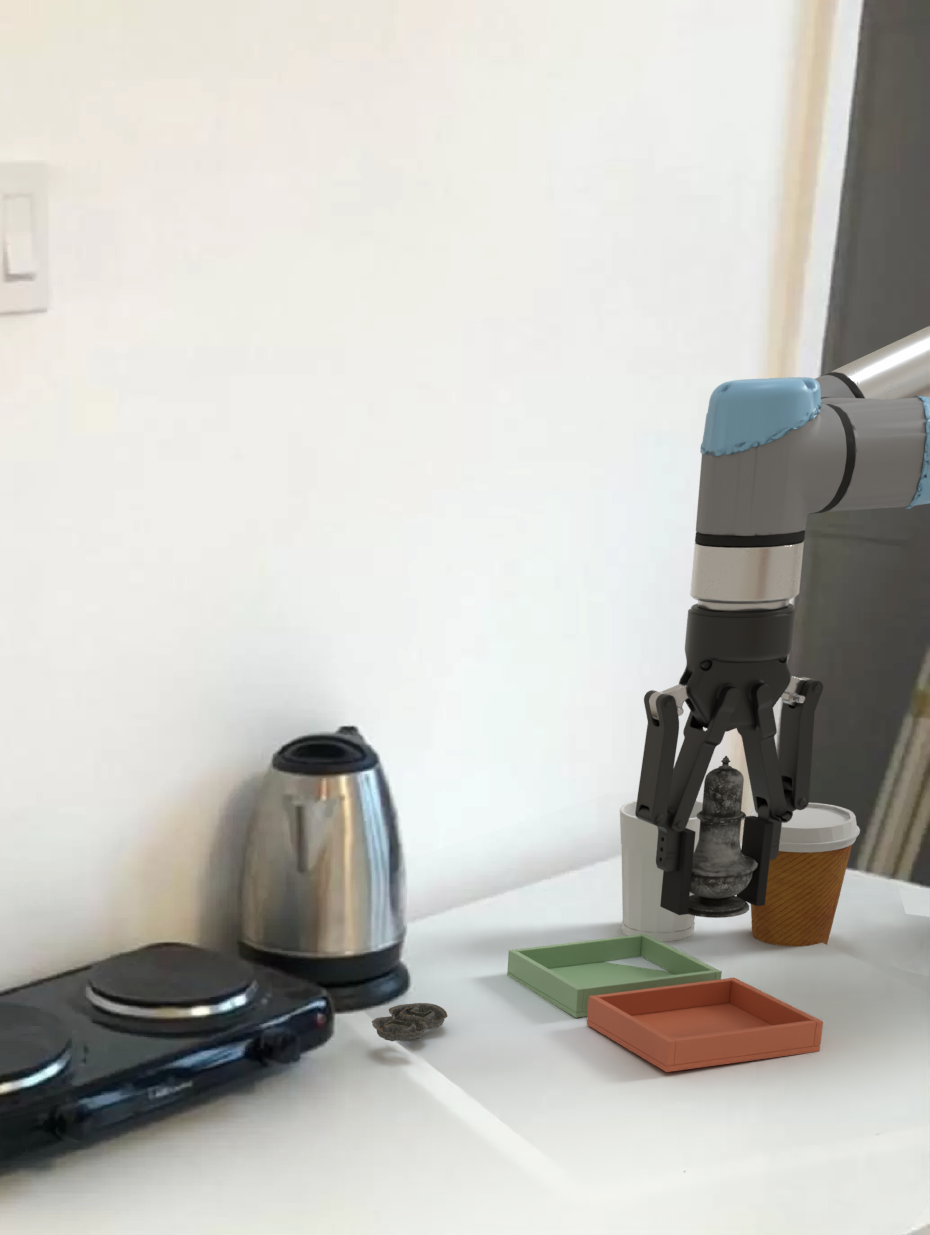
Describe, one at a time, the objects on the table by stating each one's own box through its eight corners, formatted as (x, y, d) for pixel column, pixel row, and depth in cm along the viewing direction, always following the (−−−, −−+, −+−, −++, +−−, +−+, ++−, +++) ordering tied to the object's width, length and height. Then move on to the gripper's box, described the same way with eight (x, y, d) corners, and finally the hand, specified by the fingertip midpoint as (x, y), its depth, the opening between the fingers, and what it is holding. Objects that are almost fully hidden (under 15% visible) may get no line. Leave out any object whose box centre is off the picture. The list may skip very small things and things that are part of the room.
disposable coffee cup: (850, 963, 179) (865, 830, 174) (734, 960, 182) (745, 829, 177) (843, 929, 187) (857, 801, 182) (732, 926, 190) (743, 800, 185)
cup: (615, 949, 187) (623, 821, 182) (609, 922, 194) (617, 798, 189) (707, 949, 185) (718, 820, 180) (698, 921, 192) (708, 796, 187)
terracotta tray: (731, 1005, 170) (734, 977, 170) (819, 1051, 159) (823, 1021, 158) (586, 1024, 168) (588, 995, 167) (666, 1072, 157) (668, 1041, 156)
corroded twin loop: (358, 1039, 168) (358, 1027, 168) (404, 1009, 174) (404, 997, 173) (414, 1049, 165) (414, 1037, 165) (458, 1018, 171) (459, 1006, 170)
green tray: (642, 960, 183) (644, 933, 182) (719, 999, 172) (721, 971, 171) (506, 977, 181) (508, 950, 180) (575, 1018, 170) (577, 989, 169)
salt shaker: (659, 911, 160) (670, 760, 155) (695, 891, 163) (707, 743, 158) (732, 923, 156) (746, 768, 151) (766, 903, 160) (781, 751, 155)
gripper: (826, 586, 156) (792, 881, 165) (599, 606, 152) (577, 906, 161) (889, 597, 149) (850, 904, 158) (653, 619, 146) (626, 931, 155)
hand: (712, 905), depth 160 cm, fingers closed on salt shaker, 6 cm apart
